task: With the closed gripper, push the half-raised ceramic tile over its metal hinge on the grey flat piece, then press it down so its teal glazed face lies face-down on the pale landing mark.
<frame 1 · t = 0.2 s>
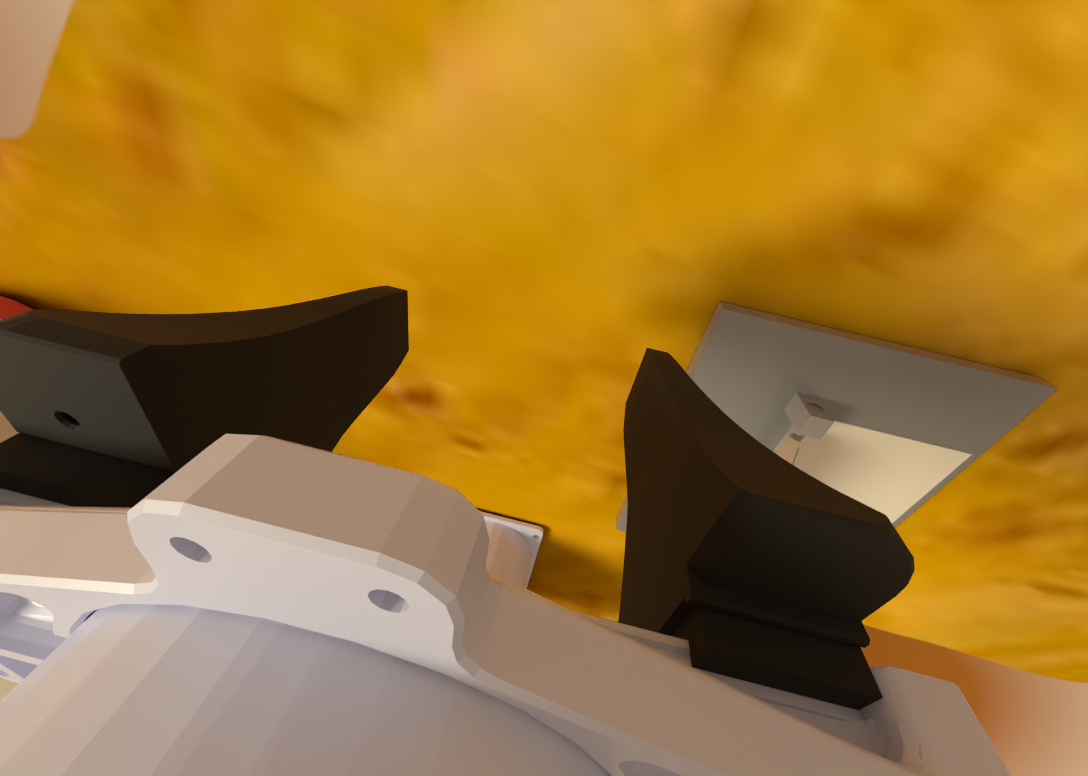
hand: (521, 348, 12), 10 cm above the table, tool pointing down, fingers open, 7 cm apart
citrus juicer: (60, 370, 31), on the table
grey flat piece: (782, 463, 25), on the table
tile: (738, 527, 20), point 6 cm above the table, hinge at 60.0°
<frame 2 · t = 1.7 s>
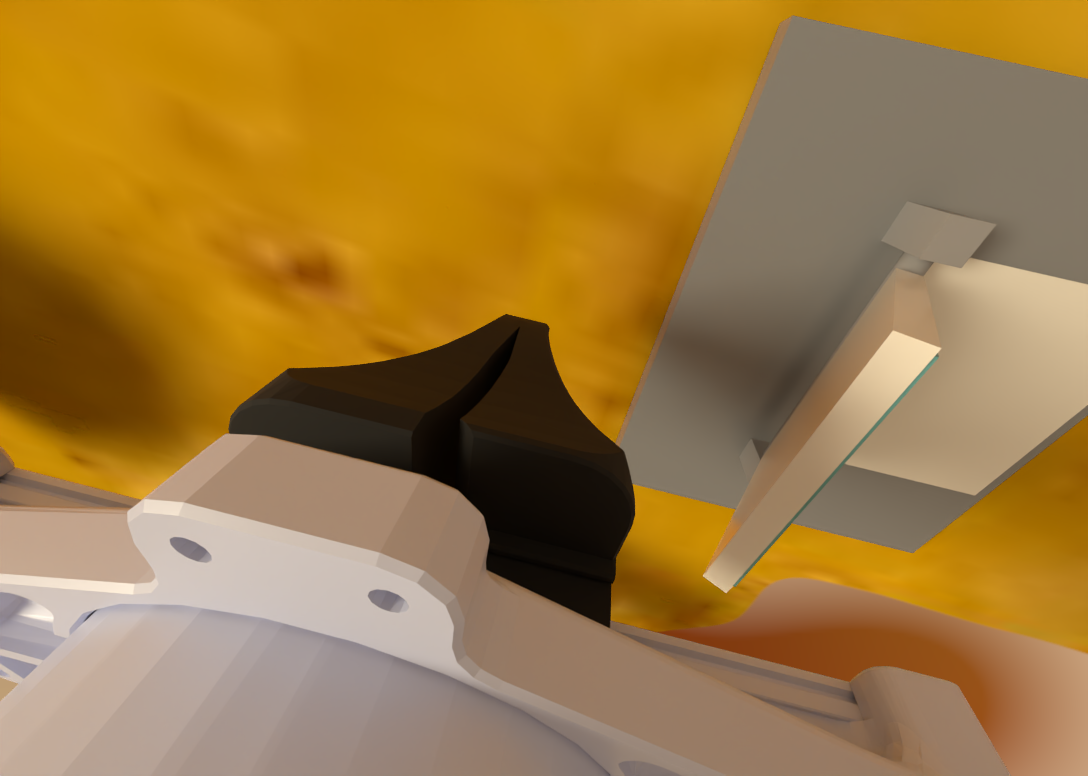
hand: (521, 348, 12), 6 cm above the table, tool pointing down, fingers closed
grey flat piece: (859, 358, 16), on the table
tile: (815, 427, 11), point 6 cm above the table, hinge at 60.0°
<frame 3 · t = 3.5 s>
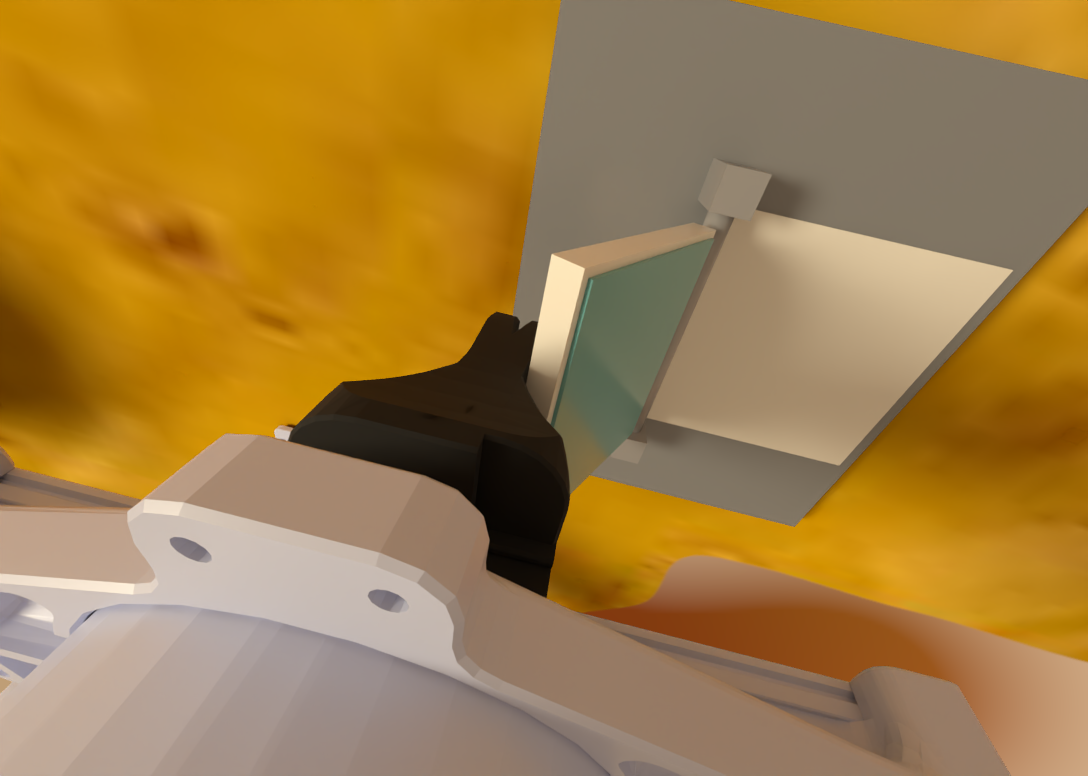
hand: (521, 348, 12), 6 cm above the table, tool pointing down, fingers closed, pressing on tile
grey flat piece: (712, 325, 16), on the table
tile: (608, 380, 11), point 6 cm above the table, hinge at 60.8°, touching gripper
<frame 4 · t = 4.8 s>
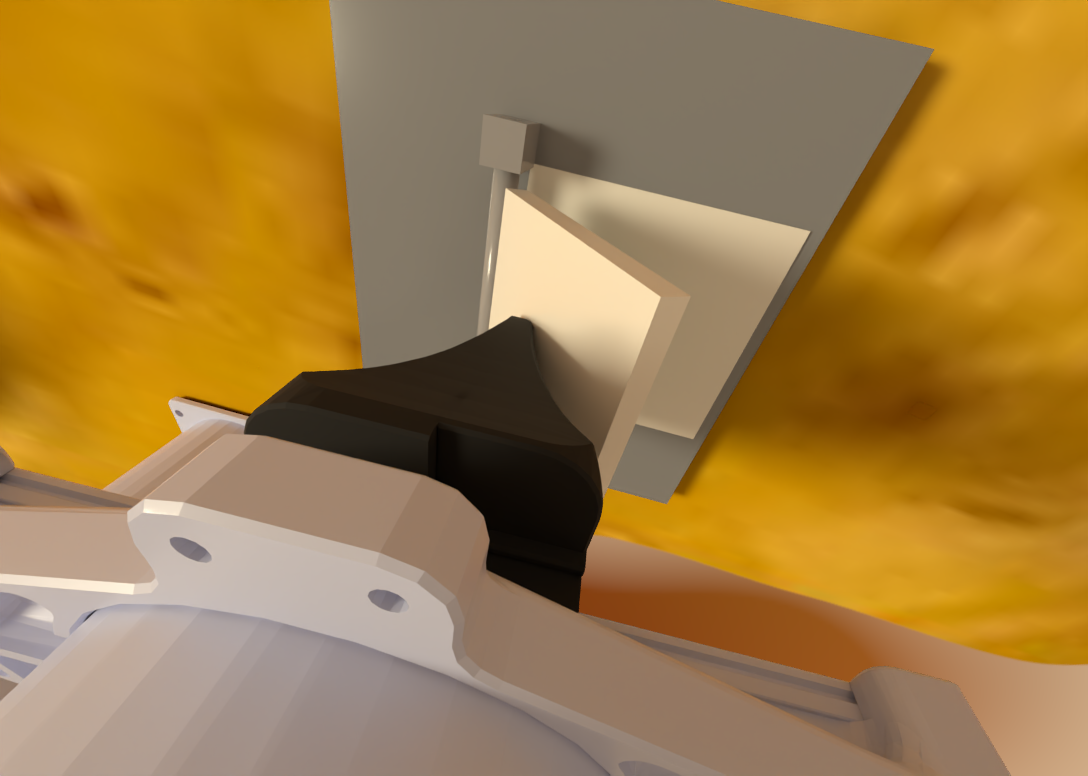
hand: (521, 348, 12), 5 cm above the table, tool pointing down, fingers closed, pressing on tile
grey flat piece: (553, 293, 16), on the table
tile: (545, 370, 12), point 6 cm above the table, hinge at 126.8°, touching gripper
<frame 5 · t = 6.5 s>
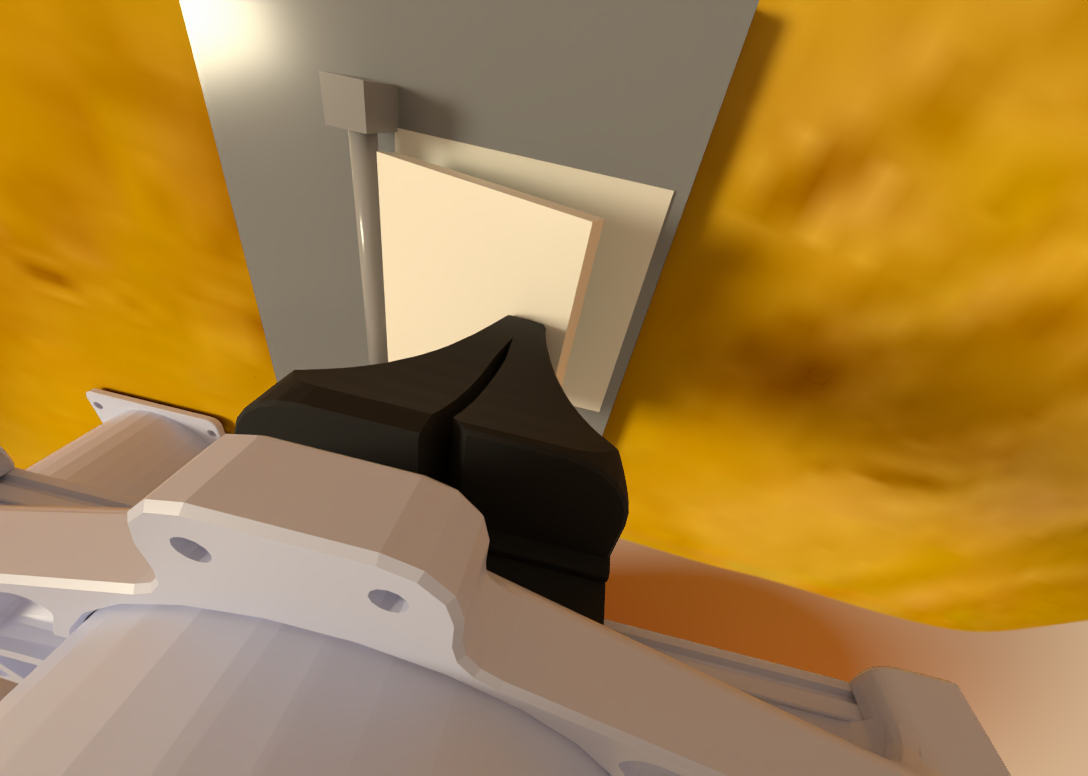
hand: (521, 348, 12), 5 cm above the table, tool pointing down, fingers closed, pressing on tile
grey flat piece: (447, 266, 16), on the table
tile: (471, 317, 13), point 4 cm above the table, hinge at 158.1°, touching gripper
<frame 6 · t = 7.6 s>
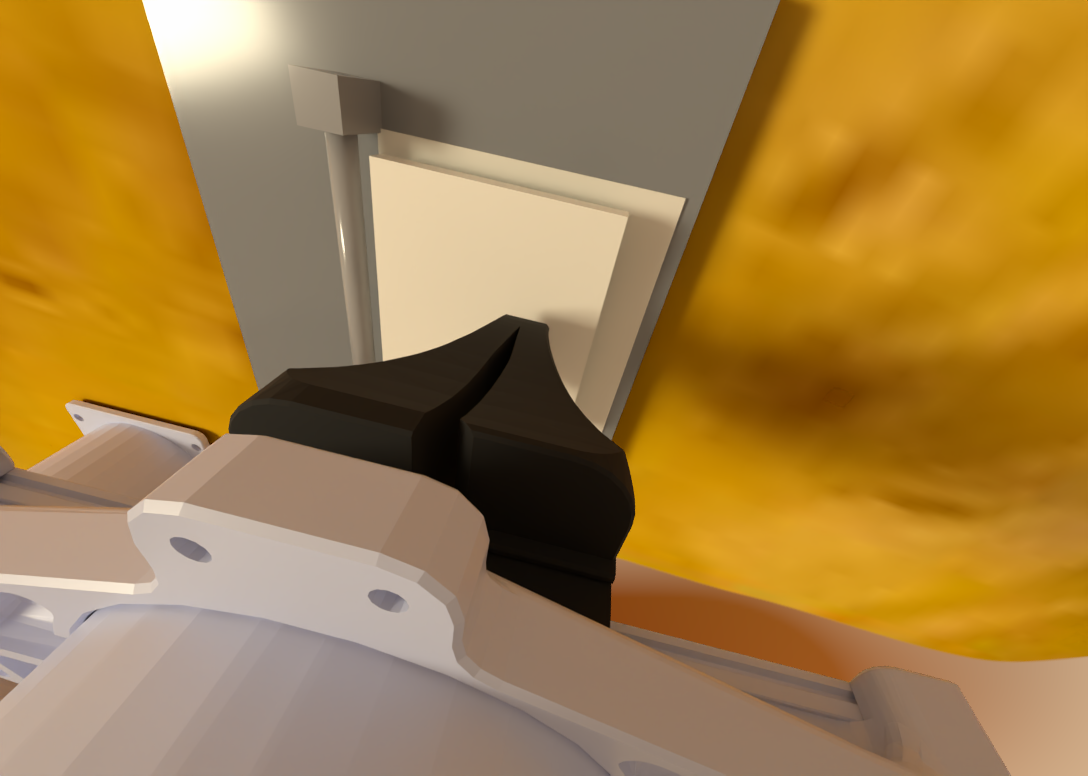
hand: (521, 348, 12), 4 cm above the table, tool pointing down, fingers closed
grey flat piece: (438, 277, 15), on the table
tile: (486, 317, 13), point 2 cm above the table, hinge at 178.3°
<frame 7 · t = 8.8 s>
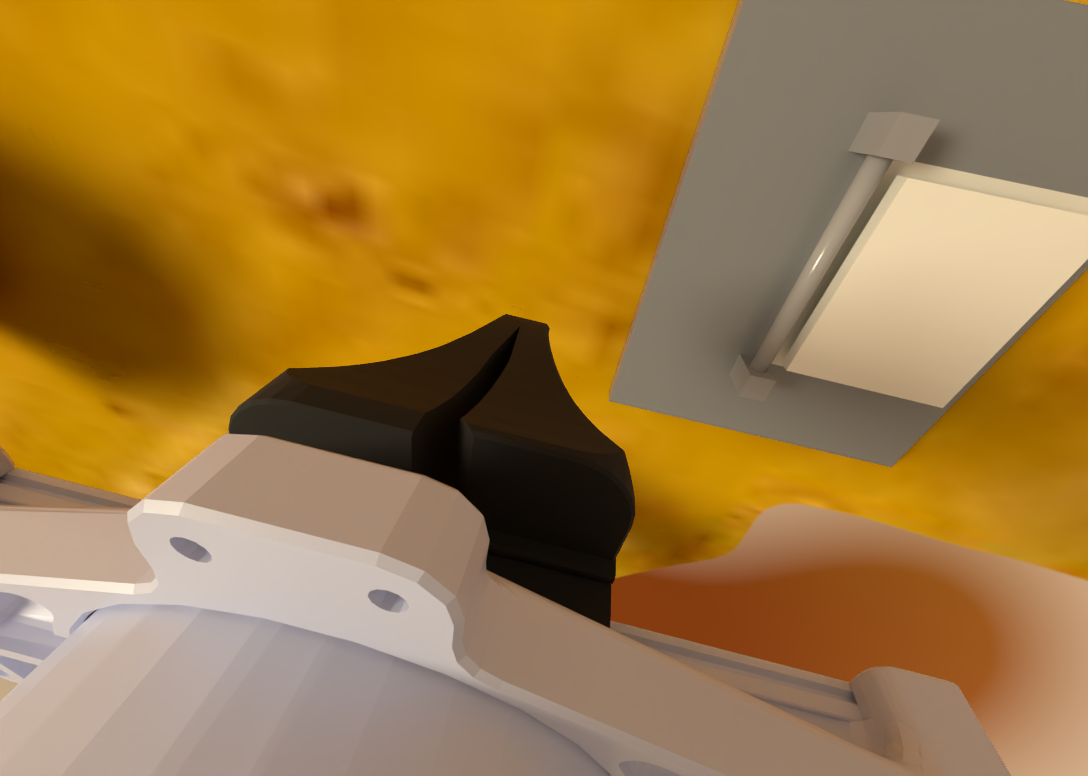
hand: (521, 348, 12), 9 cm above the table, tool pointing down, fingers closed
grey flat piece: (835, 273, 18), on the table
tile: (921, 304, 16), point 2 cm above the table, hinge at 178.4°
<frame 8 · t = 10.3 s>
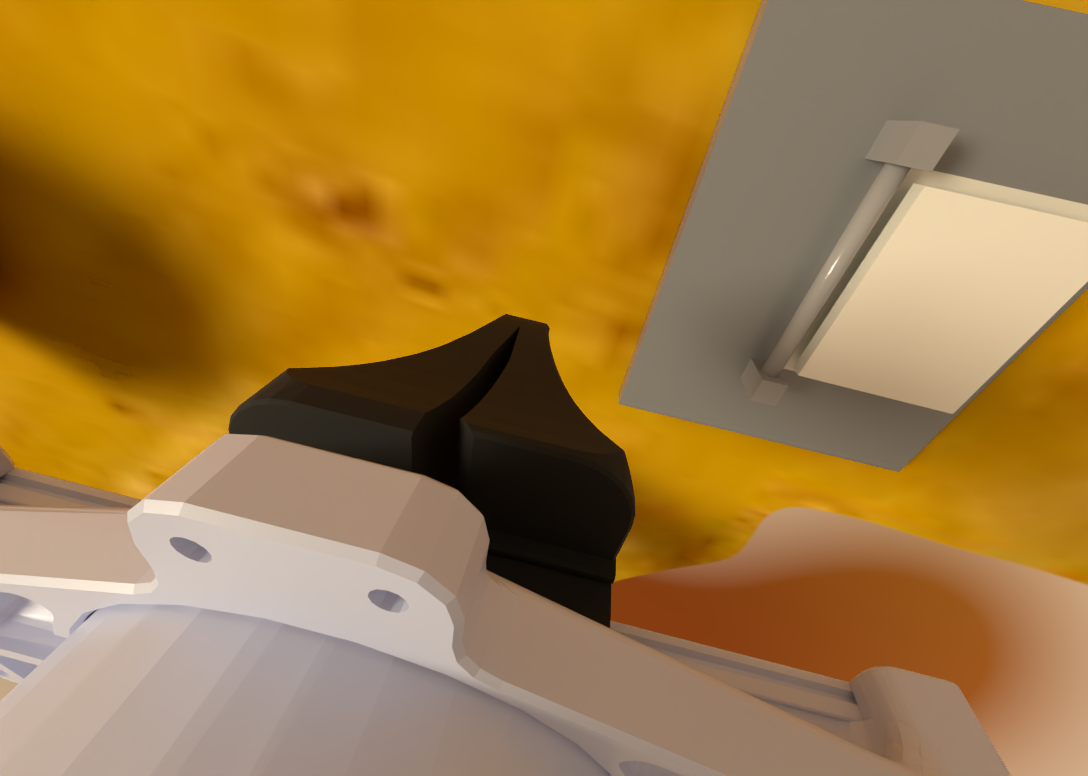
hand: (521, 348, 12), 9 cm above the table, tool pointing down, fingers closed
grey flat piece: (848, 279, 18), on the table
tile: (934, 311, 16), point 2 cm above the table, hinge at 178.4°
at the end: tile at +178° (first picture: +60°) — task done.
